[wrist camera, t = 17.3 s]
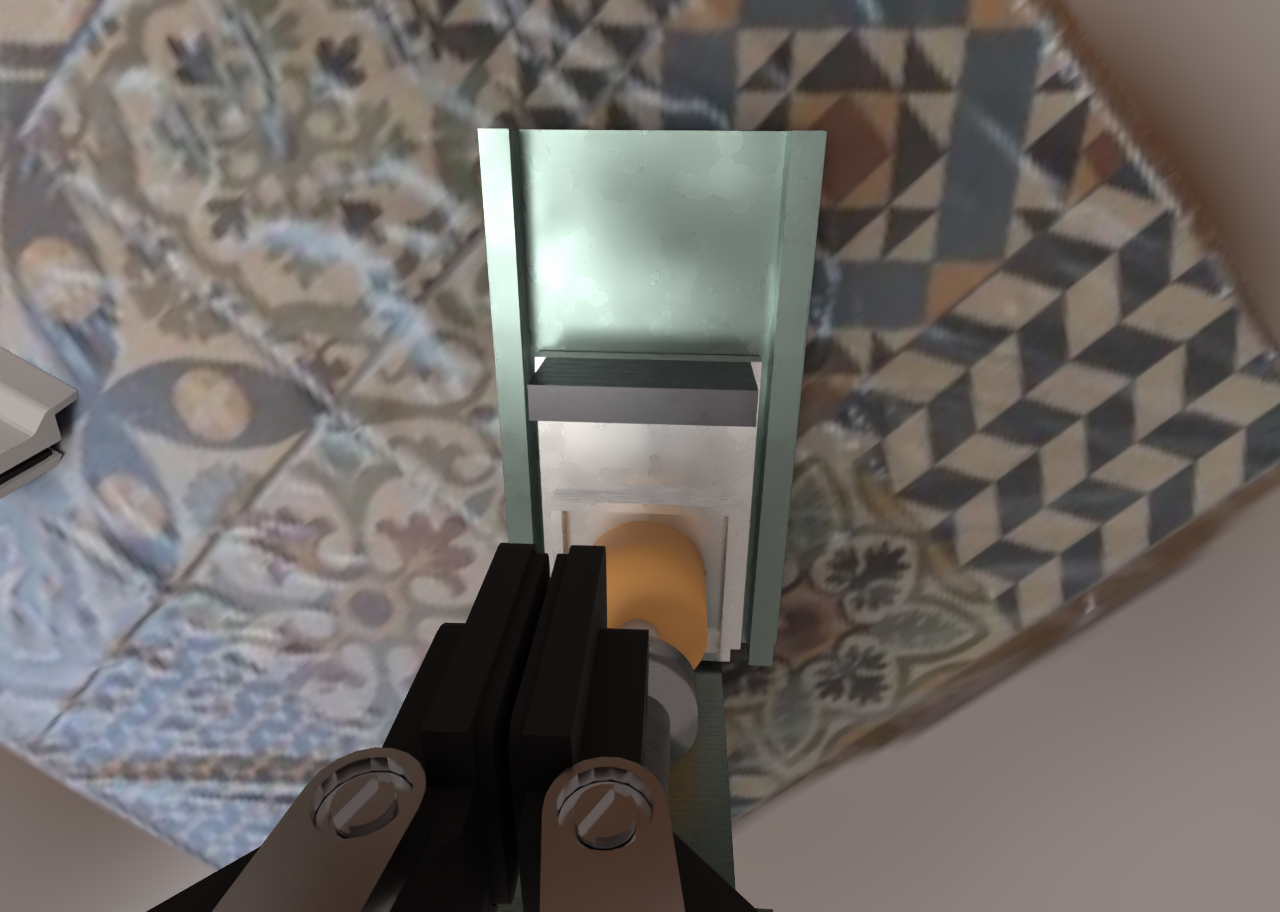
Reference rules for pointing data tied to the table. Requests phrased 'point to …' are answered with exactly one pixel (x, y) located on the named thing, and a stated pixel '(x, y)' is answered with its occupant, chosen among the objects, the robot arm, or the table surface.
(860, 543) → the table surface
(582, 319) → the press
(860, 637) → the table surface
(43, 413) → the hinge
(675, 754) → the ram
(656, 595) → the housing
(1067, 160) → the table surface
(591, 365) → the sliding bed
